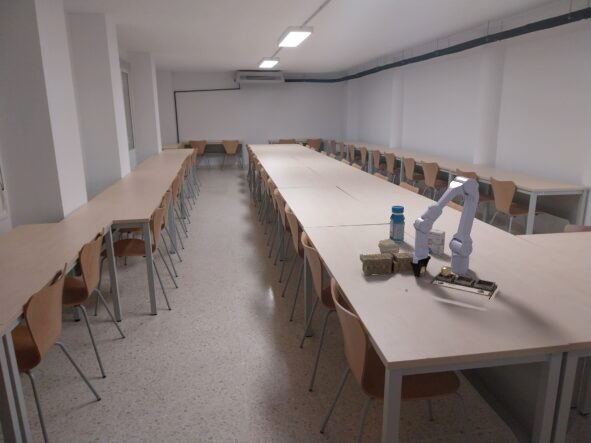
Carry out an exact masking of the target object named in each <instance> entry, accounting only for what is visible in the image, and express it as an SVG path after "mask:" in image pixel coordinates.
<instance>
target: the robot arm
mask: <svg viewBox="0 0 591 443" xmlns="http://www.w3.org/2000/svg"><path fill="white" fill-rule="evenodd" d="M479 186H480V184H479V183H478V182H477V180H476V179H474V178H469V177H466V176H463V175H458V176H456V177H455V178H454V179H453V180H452V181H451V182H450V184H449V186H448V188H447V189H446V191H445V192H444V193H443V194H442V196H440V198H439V199H438V201H437V202H436V203H435V204H431V205H428V207H427V210H426V211H424V213H423V214H421V215H420V217H418V218H416V219H415V220H414V223H413V225H412V226H413V228H414V231H415V237H414V251H412V252H413V253H412V255H414V258H413V260H411V261H410V264H411V265H412V271H413V276H414V277H416V278H420V277H421V276H420V273H421V268H422V266H425V272H426V271H427V267H428V264H429V262H430V260H431V259H432V256H431V255H429V253H430V252H429V251H428V243H429V231H430V230H432V229H433V225H434V223H435V222H436V221H437V219H438V218H440V216H441V215H442V214H443V209H444V208H445V207H446V206H447V205H448V204H449V203H450V202H451V201H452V200H453V199H454V198H455V197H456V196H463V198H464V202H463V206H462V211H461V215H460V217H459V218H460V219H459V222H458V227H457V232H455V233H454V234H453V235H452V238H451V240H450V241H449V244H448V247H449V249H450V252H451V257H450V268H451V273H453V274H459V275H460V274H461V275H462V274H463V275H464V274H467V272H468V270H469V267H470V255H471V254H472V253H473V243H474V242H473V239H472V237H471V232H472V229H473V224H474V219H475V216H476V212H477V208H478V204H479V201H480V200H479V199H480V193H479Z"/></svg>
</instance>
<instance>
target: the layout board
mask: <svg viewBox="0 0 591 443" xmlns="http://www.w3.org/2000/svg"><path fill="white" fill-rule="evenodd" d="M429 284H430V285H434V286H439V287H444V288H447V289H453V290H457V291H463V292H467V293H471V294H476V295H480V296H485V297H489V298H488V300H490V299H491V298H492V296H493V295H494V294H495V292H496V290H497V289H498V284H497V283H496V282H494V281H491V280H490V281H489V280H485V279H481V278H480V279H477V280H476V278H475V277H470V276H464V275H460V274H459V275H458V276H457V274H456V273H451V277H450V279H448V278H443V277H441V271H439V272H438V273H437V274H436V275H435V277H434V278H433V279H432V281H430V282H429Z"/></svg>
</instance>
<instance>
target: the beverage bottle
mask: <svg viewBox="0 0 591 443" xmlns="http://www.w3.org/2000/svg"><path fill="white" fill-rule="evenodd" d="M404 210H405V207H404V206H403V205H393V206H391V215H390V218H389V219H390V220H389V238H388V239H391V240H393V241H394V242H395V243H402V242H404V240H405V225H406V221H405V220H406V218H405V215H404V212H405V211H404Z"/></svg>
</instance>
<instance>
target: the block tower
mask: <svg viewBox="0 0 591 443" xmlns="http://www.w3.org/2000/svg"><path fill="white" fill-rule="evenodd" d="M413 252H414V251H408V252H407V251H405V252H398V253H393V256H392V255H391V254H390V253H387V254H386V253H384V254H381V253H373V254H363V253H362V254H361V253H360V254H359V260H360V262H361V263H362V264H361V265H362V266H361V267H362V268H361V269H362V272H365V273H364V274H365V275H366V276H373V275H372V274H378V275H391V274H392V273H393V274H398V273H399V272H402V271H413V268H412V265H411V264H410V261H411V260H413V258H414V255H412V253H413Z"/></svg>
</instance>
